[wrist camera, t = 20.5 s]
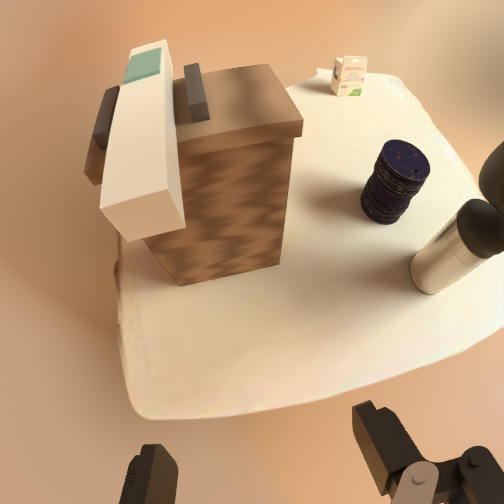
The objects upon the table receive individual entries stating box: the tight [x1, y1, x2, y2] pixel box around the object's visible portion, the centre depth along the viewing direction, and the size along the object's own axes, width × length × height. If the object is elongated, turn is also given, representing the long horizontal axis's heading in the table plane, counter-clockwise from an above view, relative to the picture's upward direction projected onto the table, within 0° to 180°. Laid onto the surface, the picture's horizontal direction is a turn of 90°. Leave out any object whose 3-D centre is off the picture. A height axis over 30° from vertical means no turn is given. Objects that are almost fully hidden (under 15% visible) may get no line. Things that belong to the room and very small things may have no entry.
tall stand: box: [84, 63, 304, 286], centre depth 37 cm, size 19×11×34 cm, turn 103°
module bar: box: [100, 39, 186, 242], centre depth 20 cm, size 4×23×4 cm, turn 13°
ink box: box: [330, 56, 368, 96], centre depth 67 cm, size 9×5×15 cm, turn 103°
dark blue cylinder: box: [361, 140, 430, 225], centre depth 49 cm, size 10×10×15 cm
